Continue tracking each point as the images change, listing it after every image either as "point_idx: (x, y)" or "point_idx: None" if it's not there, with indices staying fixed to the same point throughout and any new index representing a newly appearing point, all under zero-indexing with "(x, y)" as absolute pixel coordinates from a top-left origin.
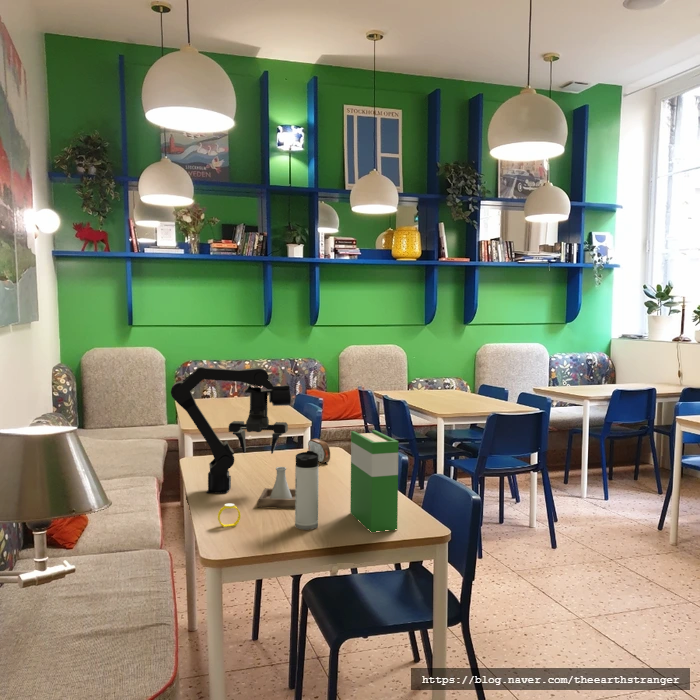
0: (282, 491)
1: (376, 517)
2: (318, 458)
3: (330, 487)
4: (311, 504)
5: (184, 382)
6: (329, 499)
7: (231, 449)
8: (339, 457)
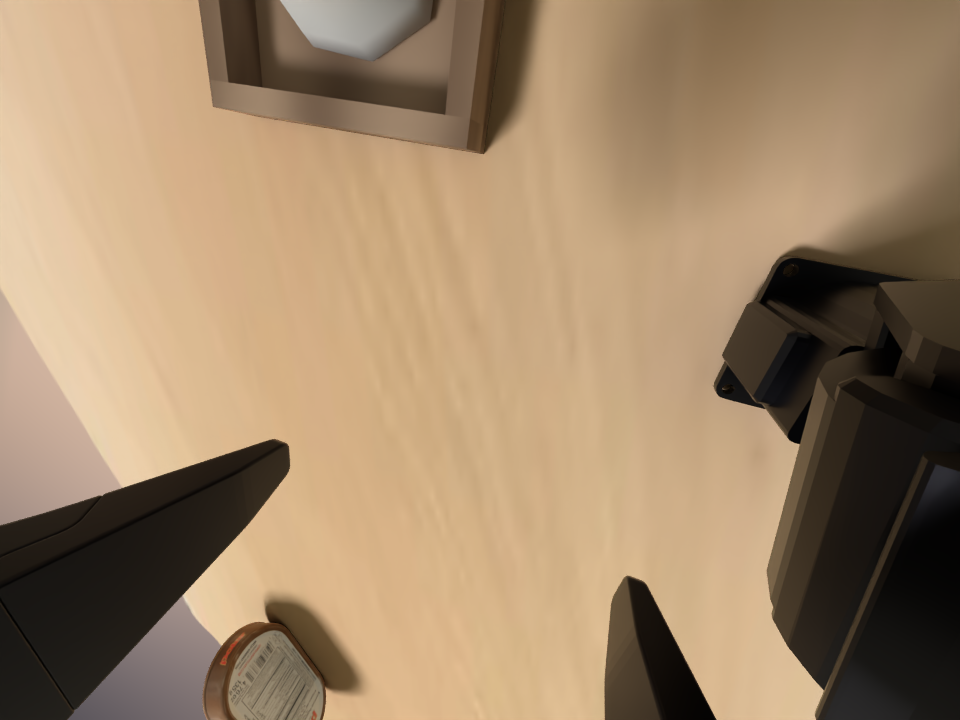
0: None
1: None
2: (288, 655)
3: (177, 301)
4: None
5: None
6: (114, 42)
7: (911, 703)
8: None
